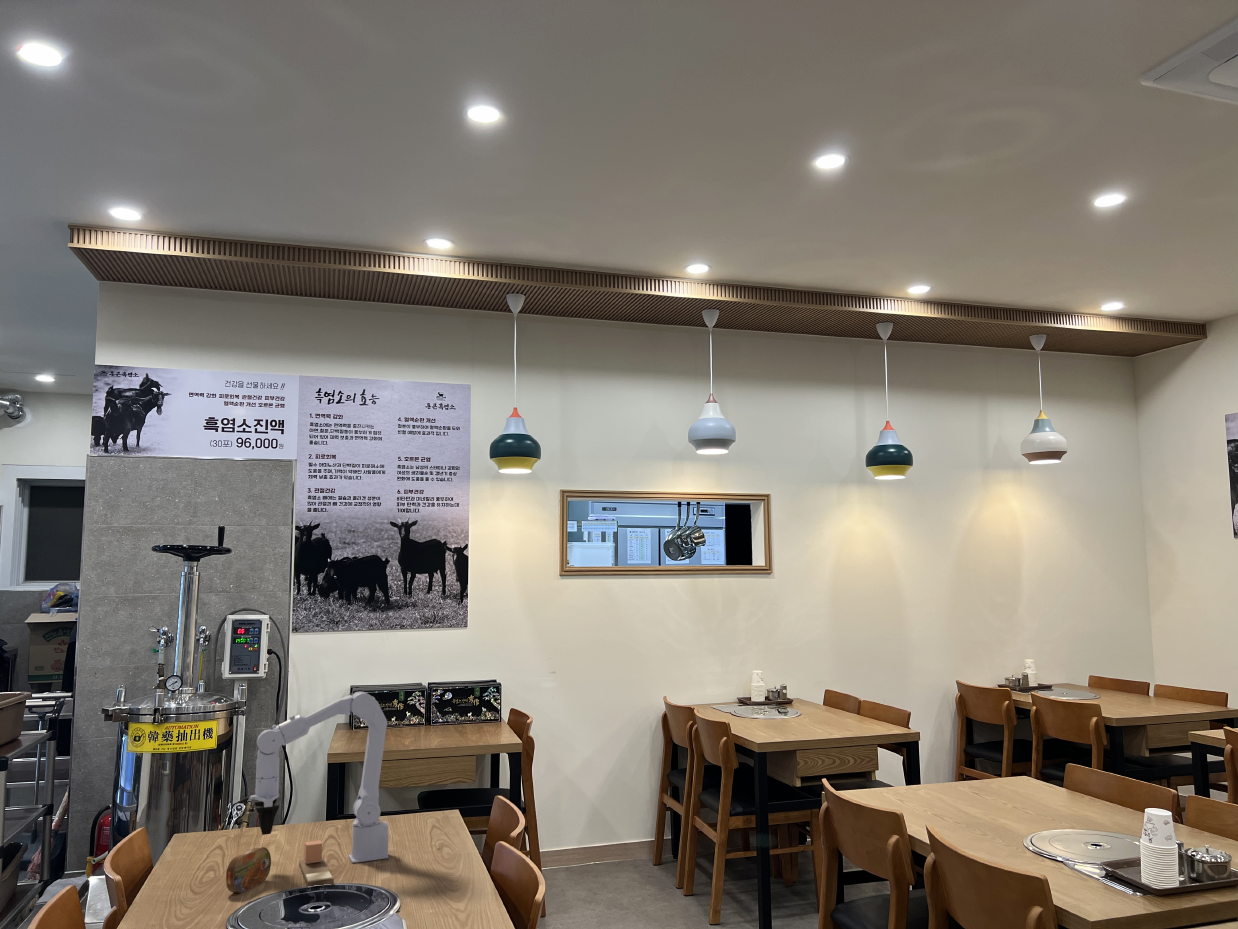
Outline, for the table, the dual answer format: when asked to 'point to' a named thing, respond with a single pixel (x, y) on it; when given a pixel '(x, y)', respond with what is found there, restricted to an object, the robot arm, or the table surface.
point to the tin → (248, 870)
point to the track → (316, 873)
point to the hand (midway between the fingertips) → (265, 831)
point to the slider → (313, 851)
